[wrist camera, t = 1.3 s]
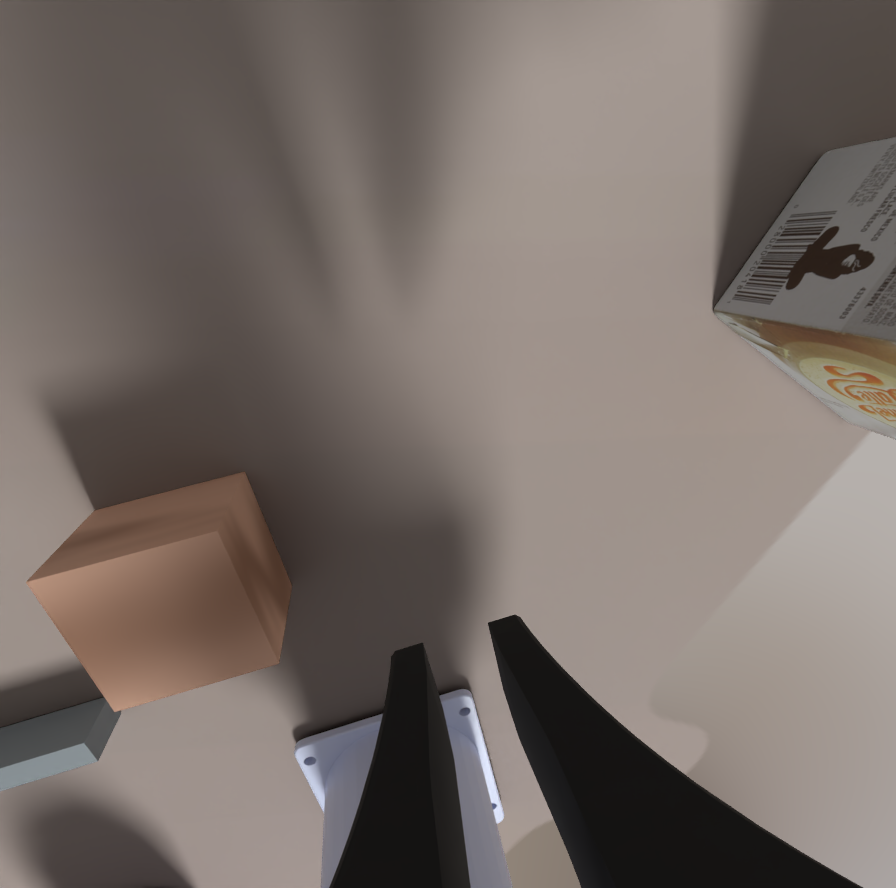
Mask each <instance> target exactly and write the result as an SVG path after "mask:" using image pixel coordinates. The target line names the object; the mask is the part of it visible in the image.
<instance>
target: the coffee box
mask: <svg viewBox="0 0 896 888" xmlns="http://www.w3.org/2000/svg"><path fill="white" fill-rule="evenodd" d="M714 314H715V315H716V316H717V317H718V318H719V319H720V320H721V321H722V322H724V323H725V324H726V325H727V326H728V327H730V328H731V329H732V330H733V331H734V332H735V333H737V334H738V335H739V336H740V337H742V338H743V339H744V340H745V341H747V342H748V343H749V344H750V345H752V346H753V347H754V348H755V349H757V350H758V351H759V352H760V353H762V354H763V355H764V356H765V357H767V358H768V359H769V360H770V361H772V362H773V363H774V364H775V365H777V366H778V367H779V368H780V369H781V370H783V371H784V372H785V373H787V374H788V375H789V376H790V377H792V378H793V379H794V380H795V381H796V382H798V383H799V384H800V385H801V386H803V387H804V388H805V389H806V390H808V391H809V392H810V393H811V394H813V395H814V396H815V397H817V398H818V399H819V400H820V401H822V402H823V403H824V404H825V405H827V406H828V407H829V408H830V409H832V410H833V411H834V412H835V413H837V414H838V415H839V416H840V417H842V418H843V419H844V420H845V421H847V422H848V423H849V424H852V425H855V426H858V427H861V428H864V429H867V430H869V431H872V432H875V433H878V434H881V435H884V436H887V437H890V438H893V439H895V440H896V137H892V138H888V139H883V140H877V141H872V142H867V143H862V144H857V145H852V146H848V147H843V148H839V149H833V150H830V151H827V152H826V153H825V154H823V155H822V156H821V158H820V159H819V160H818V162H817V163H816V164H815V166H814V167H813V168H812V170H811V171H810V173H809V174H808V175H807V177H806V178H805V180H804V181H803V183H802V184H801V185H800V187H799V188H798V190H797V191H796V192H795V194H794V195H793V197H792V198H791V200H790V201H789V202H788V204H787V205H786V207H785V208H784V209H783V211H782V212H781V214H780V215H779V216H778V218H777V219H776V221H775V222H774V224H773V225H772V226H771V228H770V229H769V231H768V232H767V233H766V235H765V236H764V238H763V239H762V241H761V242H760V243H759V245H758V246H757V248H756V249H755V250H754V252H753V253H752V255H751V256H750V258H749V259H748V260H747V262H746V263H745V265H744V266H743V268H742V269H741V271H740V272H739V273H738V275H737V276H736V278H735V279H734V281H733V282H732V283H731V285H730V286H729V288H728V289H727V290H726V292H725V293H724V295H723V296H722V297H721V299H720V300H719V302H718V303H717V304H716V306H715V308H714Z"/></svg>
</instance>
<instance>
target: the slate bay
mask: <svg viewBox="0 0 896 888" xmlns="http://www.w3.org/2000/svg"><path fill="white" fill-rule="evenodd" d="M120 715H121V712H120V711H117V712H114V711H113V709H112V708H111V706H110V705H109V703H108V702H107V700H106V699H105V697H103V698H100V699H97V700H93V701H90V702H87V703H83V704H80V705H76V706H73V707H70V708H66V709H63V710H60V711H56V712H53V713H50V714H46V715H43V716H39V717H36V718H33V719H29V720H26V721H23V722H19V723H16V724H13V725H9V726H6V727H2V728H0V791H3V790H6V789H9V788H13V787H16V786H19V785H22V784H26V783H29V782H32V781H35V780H39V779H42V778H45V777H48V776H52V775H55V774H58V773H61V772H65V771H68V770H71V769H74V768H78V767H81V766H84V765H87V764H91V763H94V762H97V761H98V760H99V758H100V756H101V754H102V752H103V750H104V748H105V746H106V744H107V741H108V739H109V737H110V735H111V733H112V731H113V729H114V727H115V725H116V723H117V721H118V719H119V717H120Z"/></svg>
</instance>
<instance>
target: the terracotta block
mask: <svg viewBox="0 0 896 888" xmlns="http://www.w3.org/2000/svg"><path fill="white" fill-rule="evenodd" d="M26 583H27V585H28V586H29V588H30V589H31V590H32V592H33V593H34V595H35V596H36V598H37V599H38V601H39V602H40V604H41V605H42V607H43V608H44V609H45V611H46V612H47V614H48V615H49V617H50V618H51V620H52V621H53V623H54V624H55V626H56V627H57V629H58V630H59V631H60V633H61V634H62V636H63V637H64V639H65V640H66V642H67V643H68V645H69V646H70V648H71V649H72V650H73V652H74V653H75V655H76V656H77V658H78V659H79V661H80V662H81V664H82V665H83V667H84V668H85V670H86V671H87V672H88V674H89V675H90V677H91V678H92V680H93V681H94V683H95V684H96V686H97V687H98V689H99V690H100V691H101V693H102V694H103V696H104V697H105V699H106V700H107V702H108V703H109V705H110V706H111V708H112V709H113V711H114V712H117V711H121V710H124V709H127V708H131V707H134V706H138V705H141V704H144V703H148V702H151V701H155V700H158V699H161V698H165V697H168V696H171V695H175V694H178V693H182V692H185V691H188V690H192V689H195V688H199V687H202V686H205V685H209V684H212V683H216V682H219V681H222V680H226V679H229V678H232V677H236V676H239V675H243V674H246V673H249V672H253V671H256V670H260V669H263V668H266V667H270V666H273V665H277V664H279V661H280V655H281V649H282V643H283V637H284V631H285V626H286V620H287V614H288V608H289V602H290V596H291V590H292V584H291V582H290V580H289V577H288V575H287V572H286V570H285V567H284V565H283V563H282V560H281V558H280V555H279V553H278V551H277V548H276V546H275V543H274V541H273V538H272V536H271V534H270V531H269V529H268V526H267V524H266V522H265V519H264V517H263V514H262V512H261V510H260V507H259V505H258V502H257V500H256V497H255V495H254V493H253V490H252V488H251V485H250V483H249V481H248V478H247V476H246V473H245V472H241V473H237V474H233V475H229V476H225V477H221V478H218V479H214V480H210V481H206V482H202V483H198V484H194V485H191V486H187V487H183V488H179V489H175V490H171V491H168V492H164V493H160V494H156V495H152V496H148V497H144V498H141V499H137V500H133V501H129V502H125V503H121V504H117V505H114V506H110V507H106V508H102V509H98V510H95V511H94V512H93V513H92V514H91V515H90V516H89V517H88V518H87V519H86V520H85V521H84V522H83V523H82V524H81V525H80V526H79V527H78V528H77V529H76V530H75V531H74V533H73V534H72V535H71V536H70V537H69V538H68V539H67V540H66V541H65V542H64V543H63V544H62V545H61V546H60V547H59V548H58V549H57V550H56V551H55V552H54V553H53V554H52V555H51V557H50V558H49V559H48V560H47V561H46V562H45V563H44V564H43V565H42V566H41V567H40V568H39V569H38V570H37V571H36V572H35V573H34V574H33V575H32V576H31V577H30V578H29V579H28V581H27V582H26Z"/></svg>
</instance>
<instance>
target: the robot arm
mask: <svg viewBox="0 0 896 888" xmlns="http://www.w3.org/2000/svg"><path fill="white" fill-rule="evenodd" d="M488 625H489V630H490V634H491V638H492V643H493V647H494V651H495V656H496V660H497V664H498V668H499V673H500V677H501V681H502V686H503V690H504V693H505V696H506V699H507V702H508V705H509V709H510V712H511V715H512V718H513V721H514V724H515V727H516V730H517V733H518V736H519V739H520V741H521V744H522V746H523V748H524V751H525V753H526V755H527V758H528V760H529V762H530V765H531V767H532V769H533V772H534V774H535V776H536V779H537V781H538V783H539V786H540V788H541V790H542V793H543V795H544V797H545V800H546V802H547V804H548V807H549V809H550V811H551V814H552V816H553V818H554V821H555V823H556V825H557V828H558V830H559V832H560V835H561V837H562V839H563V841H564V844H565V846H566V849H567V851H568V854H569V856H570V859H571V861H572V864H573V866H574V869H575V872H576V874H577V877H578V879H579V882H580V885H581V888H863V887H861V886H859V885H857V884H855V883H853V882H852V881H850V880H848V879H847V878H845V877H843V876H841V875H839V874H838V873H836V872H834V871H833V870H831V869H829V868H828V867H826V866H824V865H822V864H821V863H819V862H817V861H815V860H814V859H812V858H810V857H809V856H807V855H805V854H804V853H802V852H800V851H799V850H797V849H796V848H794V847H792V846H791V845H789V844H788V843H786V842H784V841H783V840H781V839H779V838H778V837H776V836H775V835H773V834H772V833H770V832H768V831H766V830H765V829H763V828H762V827H760V826H759V825H757V824H755V823H754V822H753V821H751V820H750V819H748V818H747V817H745V816H744V815H742V814H741V813H739V812H738V811H736V810H735V809H734V808H732V807H731V806H729V805H728V804H726V803H725V802H723V801H722V800H720V799H719V798H717V797H716V796H714V795H713V794H711V793H710V792H708V791H707V790H705V789H704V788H703V787H701V786H700V785H698V784H696V783H695V782H694V781H693V780H691V779H690V778H689V777H687V776H686V775H685V774H683V773H682V772H681V771H679V770H678V769H677V768H675V767H674V766H673V765H671V764H670V763H669V762H667V761H666V760H665V759H663V758H662V757H661V756H660V755H658V754H657V753H656V752H655V751H653V750H652V749H651V748H649V747H648V746H647V745H646V744H644V743H643V742H642V741H641V740H640V739H638V738H637V737H636V736H635V735H634V734H632V733H631V732H630V731H629V730H628V729H626V728H625V727H624V726H623V725H622V724H621V723H620V722H618V721H617V720H616V719H615V718H614V717H613V716H612V715H611V714H610V713H608V712H607V711H606V710H605V709H604V708H603V707H602V706H601V705H600V704H598V703H597V702H596V701H595V700H594V699H593V698H592V697H591V696H590V695H589V694H588V693H587V692H586V691H585V690H584V689H583V688H582V687H581V686H580V685H579V684H578V683H577V682H576V681H575V680H574V679H573V678H572V677H571V676H570V675H569V674H568V673H567V672H566V671H565V670H564V669H563V668H562V667H561V666H560V665H559V664H558V663H557V662H556V660H555V659H554V658H553V657H552V656H551V655H550V654H549V653H548V652H547V650H546V649H545V648H544V647H543V646H542V645H541V644H540V642H539V641H538V640H537V639H536V638H535V636H534V635H533V634H532V633H531V631H530V630H529V629H528V627H527V626H526V625H525V623H524V622H523V620H522V619H521V617H519V616H517V615H512V616H509V617H506V618H502V619H499V620H496V621H492V622H489V623H488ZM465 707H466V708H465ZM462 708H463V709H462ZM294 754H295V757H296V759H297V761H298V763H299V765H300V767H301V769H302V771H303V773H304V775H305V777H306V779H307V781H308V783H309V785H310V787H311V789H312V791H313V793H314V795H315V797H316V799H317V801H318V803H319V805H320V807H321V808H322V810H323V812H324V827H323V849H322V871H321V888H513V886H512V882H511V878H510V874H509V870H508V866H507V862H506V859H505V855H504V851H503V847H502V843H501V839H500V835H499V831H498V827H497V824H498V823H500V822H501V821H502V820H503V818H504V812H503V808H502V805H501V801H500V797H499V793H498V790H497V786H496V782H495V779H494V775H493V771H492V768H491V764H490V760H489V756H488V753H487V749H486V745H485V742H484V738H483V734H482V731H481V727H480V723H479V719H478V716H477V712H476V708H475V705H474V701H473V697H472V694H471V692H470V691H469V690H466V689H459V690H456V691H453V692H450V693H446V694H443V695H440V696H439V694H438V690H437V687H436V684H435V681H434V677H433V674H432V671H431V668H430V664H429V661H428V658H427V655H426V651H425V648H424V645H423V643H420V644H417V645H414V646H410V647H407V648H404V649H400V650H397V651H395V652H394V654H393V655H392V656H391V668H390V676H389V683H388V689H387V695H386V700H385V706H384V711H383V714H380V715H376V716H373V717H370V718H367V719H364V720H361V721H357V722H354V723H351V724H348V725H345V726H342V727H338V728H335V729H332V730H329V731H326V732H323V733H319V734H316V735H313V736H310V737H307V738H304V739H301V740H299V741H298V742H297V743H296V746H295V752H294Z"/></svg>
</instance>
